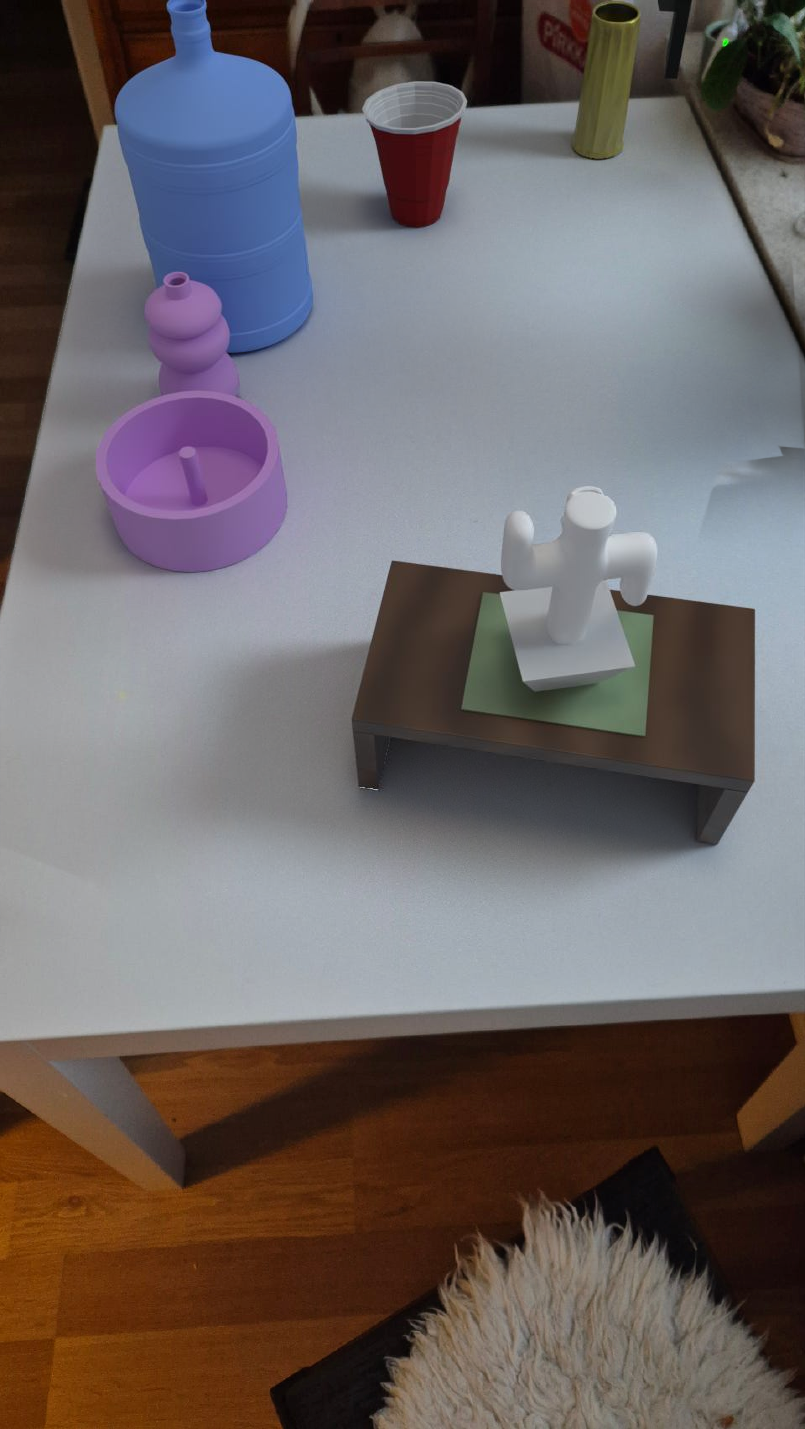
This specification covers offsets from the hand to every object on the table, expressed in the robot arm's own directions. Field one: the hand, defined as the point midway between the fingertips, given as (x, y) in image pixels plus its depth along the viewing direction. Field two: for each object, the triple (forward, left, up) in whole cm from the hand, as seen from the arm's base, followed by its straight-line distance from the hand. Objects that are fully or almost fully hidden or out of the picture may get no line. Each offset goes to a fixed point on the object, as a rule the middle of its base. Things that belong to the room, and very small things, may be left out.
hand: (783, 74), depth 62 cm
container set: (+42, +6, -34) cm, 54 cm away
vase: (+11, -54, -34) cm, 65 cm away
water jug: (+45, -17, -34) cm, 59 cm away
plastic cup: (+30, -37, -34) cm, 59 cm away
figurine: (+8, +29, -25) cm, 39 cm away
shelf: (+8, +29, -34) cm, 45 cm away
